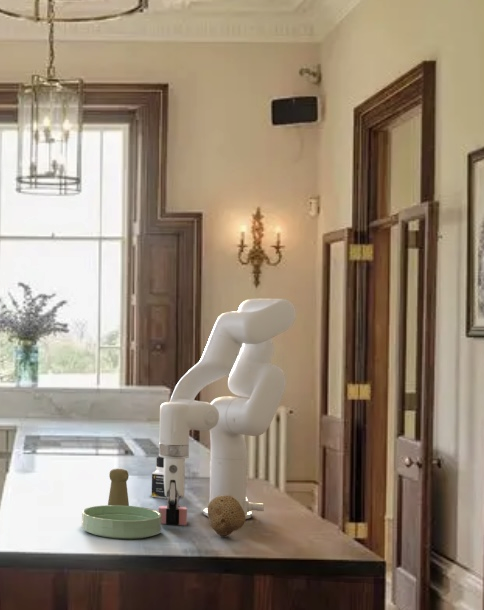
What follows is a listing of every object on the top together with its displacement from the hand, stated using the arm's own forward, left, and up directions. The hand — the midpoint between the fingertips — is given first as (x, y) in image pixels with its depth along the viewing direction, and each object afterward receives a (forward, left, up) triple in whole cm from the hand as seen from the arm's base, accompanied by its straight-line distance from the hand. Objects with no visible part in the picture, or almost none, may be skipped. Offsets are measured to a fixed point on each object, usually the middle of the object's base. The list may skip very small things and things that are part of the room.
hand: (172, 522), depth 257 cm
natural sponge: (-13, +12, 0) cm, 18 cm away
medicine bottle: (+3, -38, 0) cm, 38 cm away
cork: (+15, -14, 0) cm, 21 cm away
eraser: (0, 0, 0) cm, 0 cm away
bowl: (+12, +13, 0) cm, 18 cm away
